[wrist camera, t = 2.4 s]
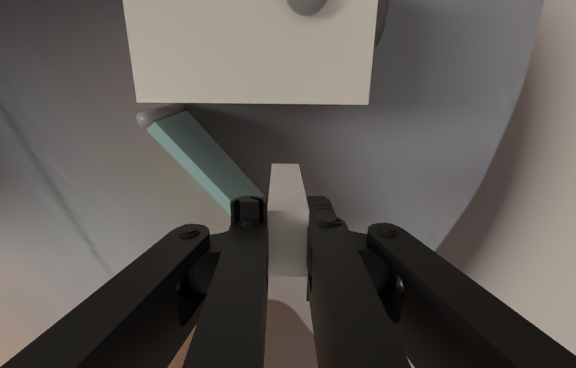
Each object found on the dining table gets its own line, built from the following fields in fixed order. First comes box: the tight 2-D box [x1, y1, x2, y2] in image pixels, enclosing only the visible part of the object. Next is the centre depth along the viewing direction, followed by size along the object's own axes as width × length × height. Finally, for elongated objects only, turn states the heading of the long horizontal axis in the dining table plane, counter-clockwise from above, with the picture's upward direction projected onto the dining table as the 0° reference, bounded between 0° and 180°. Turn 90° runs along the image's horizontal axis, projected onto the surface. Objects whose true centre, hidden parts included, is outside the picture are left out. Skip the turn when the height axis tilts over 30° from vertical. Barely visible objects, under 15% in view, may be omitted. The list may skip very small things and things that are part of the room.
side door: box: [136, 103, 266, 216], centre depth 25 cm, size 12×2×8 cm, turn 39°
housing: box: [123, 0, 388, 105], centre depth 21 cm, size 15×9×9 cm, turn 89°
